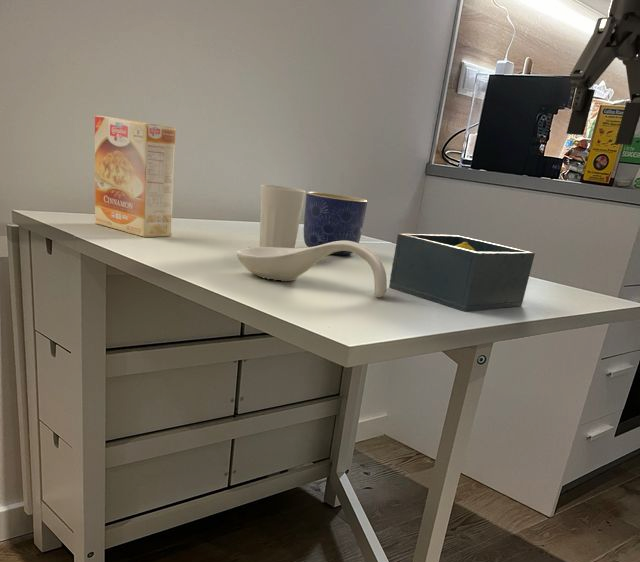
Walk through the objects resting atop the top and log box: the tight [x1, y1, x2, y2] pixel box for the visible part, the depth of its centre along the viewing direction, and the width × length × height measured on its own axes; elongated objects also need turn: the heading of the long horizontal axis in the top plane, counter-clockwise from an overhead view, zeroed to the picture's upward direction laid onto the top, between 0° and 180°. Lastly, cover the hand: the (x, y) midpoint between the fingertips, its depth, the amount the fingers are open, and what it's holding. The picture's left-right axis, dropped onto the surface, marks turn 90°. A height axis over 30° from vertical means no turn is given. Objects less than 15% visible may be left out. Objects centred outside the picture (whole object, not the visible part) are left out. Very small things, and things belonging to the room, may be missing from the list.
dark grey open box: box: [388, 233, 535, 312], centre depth 107 cm, size 16×16×9 cm
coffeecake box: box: [94, 115, 177, 238], centre depth 125 cm, size 15×7×20 cm, turn 53°
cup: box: [259, 184, 306, 248], centre depth 120 cm, size 8×8×12 cm
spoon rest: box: [235, 241, 388, 298], centre depth 101 cm, size 24×12×7 cm, turn 75°
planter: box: [303, 191, 368, 256], centre depth 135 cm, size 12×12×11 cm
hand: (599, 139), depth 110 cm, fingers open, 13 cm apart
